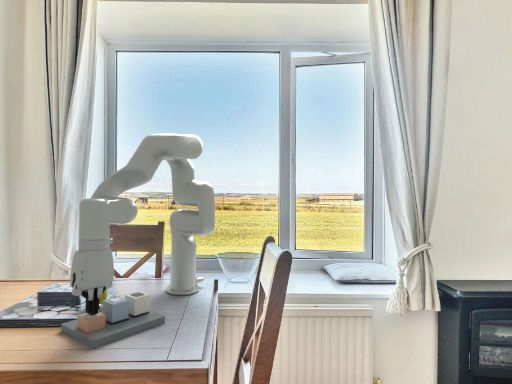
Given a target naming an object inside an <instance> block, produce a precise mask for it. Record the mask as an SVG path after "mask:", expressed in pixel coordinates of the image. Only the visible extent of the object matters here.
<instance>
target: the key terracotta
mask: <svg viewBox="0 0 512 384" xmlns="http://www.w3.org/2000/svg"><path fill="white" fill-rule="evenodd" d="M101 312H102V311H98V314H94V315H90V314H88V313H87V312H85V313H80V314H78V315H77V329H79V330H81V331H83V332H85V333H89V332H92V331H96V330H99V329H102V328H105V321H106V315H105V314H103V313H101Z"/></svg>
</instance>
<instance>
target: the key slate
mask: <svg viewBox="0 0 512 384" xmlns="http://www.w3.org/2000/svg"><path fill="white" fill-rule="evenodd" d="M101 309H102V311H101V312H102V313H103V314H105V315H106V320H107V321H109V322H111V323H112V324H114V323H113V322H115V323H118V322H119V321H120V320H123V319H126V318H128V314H129V300H127V299H125V297H124V298H123V297H121V296H116V297H111V298H109V299H108V298H107V299H106V300H103V304H102V308H101ZM117 321H118V322H117Z"/></svg>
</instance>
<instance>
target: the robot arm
mask: <svg viewBox="0 0 512 384" xmlns="http://www.w3.org/2000/svg"><path fill="white" fill-rule="evenodd" d="M203 146H204V145H203V141H202V139H201V138H200V137H199V136H198V135H195V134H182V133H181V134H179V133H153V134H148V135H147V136H145V137H144V138H143V139H142V140H141V142H140V143H139V145H138V146H137V148H136V150H135V152H134V153H133V155H132V156H131V158H130V159H129V160H128V162H127V163H126V165H124V166H123V167H122V168H120V169H118V170H117V171H115V172H114V173H112V174H111V175H110V176H108V177H107V178H105V179H104V180H103V181H102V182H101V183H100V184H98V186H97V188H96V189H95V190H94V192H93V194H92V195H91V196H90V198H83V199H81V201H80V202H79V207H78V208H79V209H78V211H79V213H78V243H77V244H78V245H77V246H78V250H75V251H74V253H73V257H72V260H71V268H70V275H69V286H70V287H71V288H72V290H71V295H73V296H77V297H80V296H81V297H83V299H85V307H84V308H85V309H84V310H85V313H88V314H90V315H94V314H98V312H99V309H100V306H99V302H100V298H101V297H102V294H103V293H104V291H105V290H107V291H108V290H109V289H111V288H112V287H113V282H114V279H115V273H114V272H115V268H114V267H115V263H114V256H113V251H112V248H110V247H111V244H114V239H113V238H111V237H110V236H111V235H110V233H111V232H110V231H111V229H110V228H111V225H115V224H116V225H126V224H129V223H131V222H133V221H134V220H135V218H137V215H138V211H139V210H138V205H137V204H136V202H135V201H134V200H132V199H130V198H127V197H119V196H120V195H121V194H123V193H125V192H126V191H129V190H132V189H135V188H138V187H141V186H143V185H145V184H148V183H149V182H150V181H151V180H152V179H153V177H154V176H155V173H156V171H157V170H158V168H159V166H160V164H161V163H162V162H163V161H166V163H167V164H168V165H169V168H170V171H171V172H170V173H171V191H172V200H173V202H174V203H175V204H176V205H178V206H183V207H197V209H195V208H178V209H175V210H174V211H172V213H170V216H169V227H170V235H171V237H170V238H171V247H170V248H171V252H170V253H171V254H170V273H169V274H170V279H169V280H170V281H169V285H167V286H166V287H165V292H166V293H167V294H169V295H174V296H188V295H193V294H196V293H198V292H199V291H200V287H199V285H198V284H199V283H202V282H204V280H205V279H204V277H203V276H199V277H197V276H196V270H197V241H196V239H195V237H194V235H197V236H209V235H211V234H212V233H213V232H214V230H215V225H216V208H215V207H216V205H215V204H216V203H215V201H216V200H215V199H216V198H215V191H214V188H213V186H212V184H211V183H210V182H208V181H203V180H201V181H200V180H199V181H198V180H196V178H195V176H196V175H195V166H194V164H193V162H192V160H195V159H198V158H199V157H200V156H201V154H202V153H203V149H204V147H203ZM92 289H93V291H92Z"/></svg>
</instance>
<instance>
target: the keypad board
mask: <svg viewBox="0 0 512 384" xmlns="http://www.w3.org/2000/svg"><path fill="white" fill-rule="evenodd" d="M100 312H101V313H102V311H100ZM77 319H78V318H77ZM77 319H74V320H70V321H67V322H63V323H61V328H60V329H61V332H62V333H63V334H66V335H67V336H69V337H71V338H72V339H74V340H76V341H78V342H79V343H81V344H83V345H85V346H87V347H88V348H89V349H92V350H93V349H97V348H99V347H101V346H105V345H107V344H110V343H113V342H116V341H118V340H121V339H124V338H126V337H129V336H133V335H135V334H138V333H140V332H143V331H147V330H149V329H151V328H155V327H157V326H159V325H163V324H165V323H166V322H165V321H166V320H165V319H166V315H163V314H160V313H157V312H155V311H153V310H150V309H149V311H148V312H145V313H142V314H139V315H136V316H134V315H131V314H128V318H126V319H123V320H120V321H117V322H113V323H111V322H109V321H107V320H106V321H105V328H102V329H99V330H96V331H92V332H89V333H85V332H83V331H81V330H79V329H77Z"/></svg>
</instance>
